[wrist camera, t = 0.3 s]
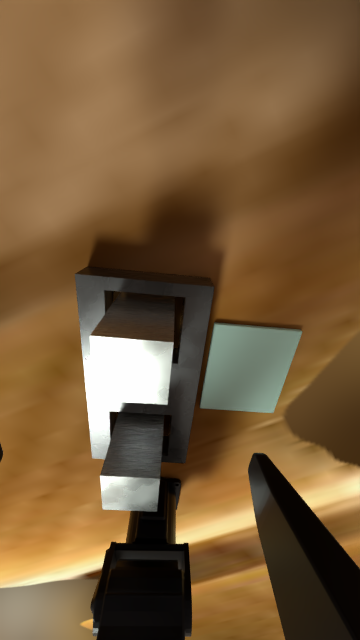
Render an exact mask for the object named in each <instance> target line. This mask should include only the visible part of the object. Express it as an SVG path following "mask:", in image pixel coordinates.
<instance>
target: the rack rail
mask: <svg viewBox="0 0 360 640" xmlns="http://www.w3.org/2000/svg"><path fill="white" fill-rule="evenodd" d="M75 280H76V291H77V301H78V312H79V322H80V333H81V344H82V354H83V365H84V375H85V386H86V397H87V407H88V418H89V429H90V439H91V450H92V458H97V459H105V457H106V454H107V451H108V447H109V444H110V440H111V437H112V434H113V430H114V427H115V423H116V412H130V413H145V414H161V415H171V417H170V426H169V435H168V436H163V442H162V457H161V462H171V463H185V462H186V456H187V450H188V443H189V437H190V431H191V425H192V419H193V413H194V407H195V401H196V395H197V389H198V383H199V377H200V371H201V365H202V359H203V353H204V347H205V340H206V334H207V328H208V322H209V316H210V310H211V304H212V298H213V292H214V285H213V283H212V281H211V279H210V278H205V277H194V276H184V275H173V274H162V273H152V272H141V271H130V270H120V269H109V268H98V267H88V266H87V267H86V268H84V269H82V270H81V271H79V272H77V273H76V274H75ZM113 291H120V292H131V293H143V294H154V295H165V296H176V297H184V299H183V308H182V317H181V326H180V335H179V344H178V348H173V354H172V364H171V374H170V384H169V394H168V405H165V404H150V403H135V402H119V401H104V400H94V388H93V374H92V361H91V348H90V335H91V333H92V332H93V330H94V329H95V327H96V326H97V325H98V323H99V322H100V320H101V319H102V318H103V316H104V315H105V313H106V312H107V311H108V309H109V308H110V306H111V305H112V304H113Z"/></svg>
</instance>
